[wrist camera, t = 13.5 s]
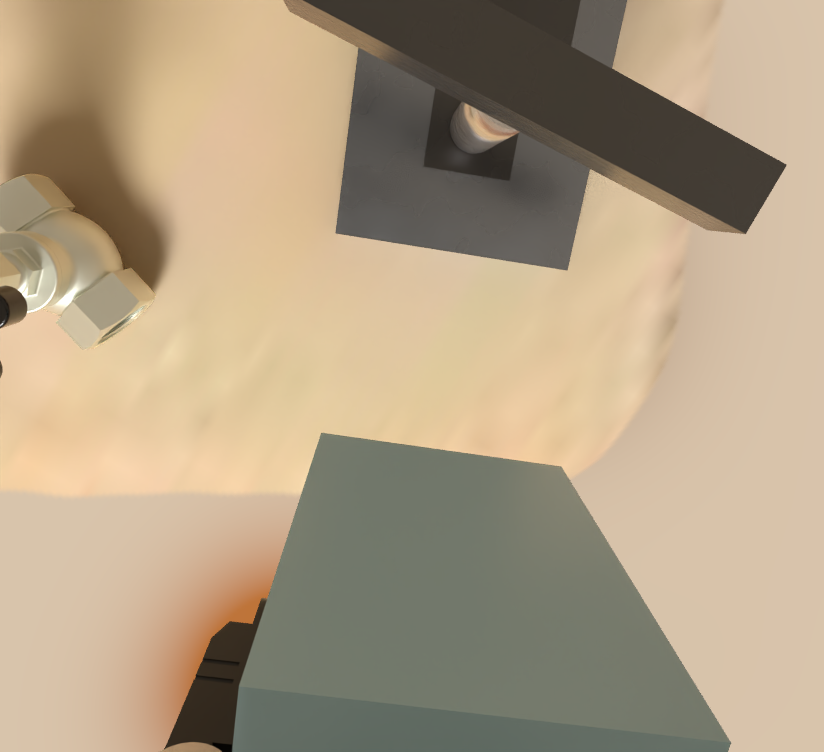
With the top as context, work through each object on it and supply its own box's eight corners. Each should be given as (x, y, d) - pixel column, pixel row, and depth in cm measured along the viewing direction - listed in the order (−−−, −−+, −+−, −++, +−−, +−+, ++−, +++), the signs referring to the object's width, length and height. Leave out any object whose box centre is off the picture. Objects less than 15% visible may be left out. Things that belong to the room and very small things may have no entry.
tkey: (602, 222, 27) (743, 237, 16) (327, 81, 25) (273, -10, 14) (626, 176, 26) (789, 161, 15) (347, 30, 25) (308, -105, 14)
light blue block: (280, 749, 15) (185, 1197, 8) (321, 433, 13) (239, 685, 6) (488, 771, 15) (560, 1221, 9) (561, 466, 13) (731, 743, 7)
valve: (87, 150, 28) (-136, 115, 16) (193, 271, 29) (59, 318, 18) (-18, 247, 29) (-299, 280, 17) (90, 359, 30) (-100, 458, 19)
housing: (339, 230, 29) (335, 233, 27) (400, -254, 24) (400, -295, 22) (556, 265, 29) (567, 270, 27) (656, -200, 25) (679, -235, 23)
